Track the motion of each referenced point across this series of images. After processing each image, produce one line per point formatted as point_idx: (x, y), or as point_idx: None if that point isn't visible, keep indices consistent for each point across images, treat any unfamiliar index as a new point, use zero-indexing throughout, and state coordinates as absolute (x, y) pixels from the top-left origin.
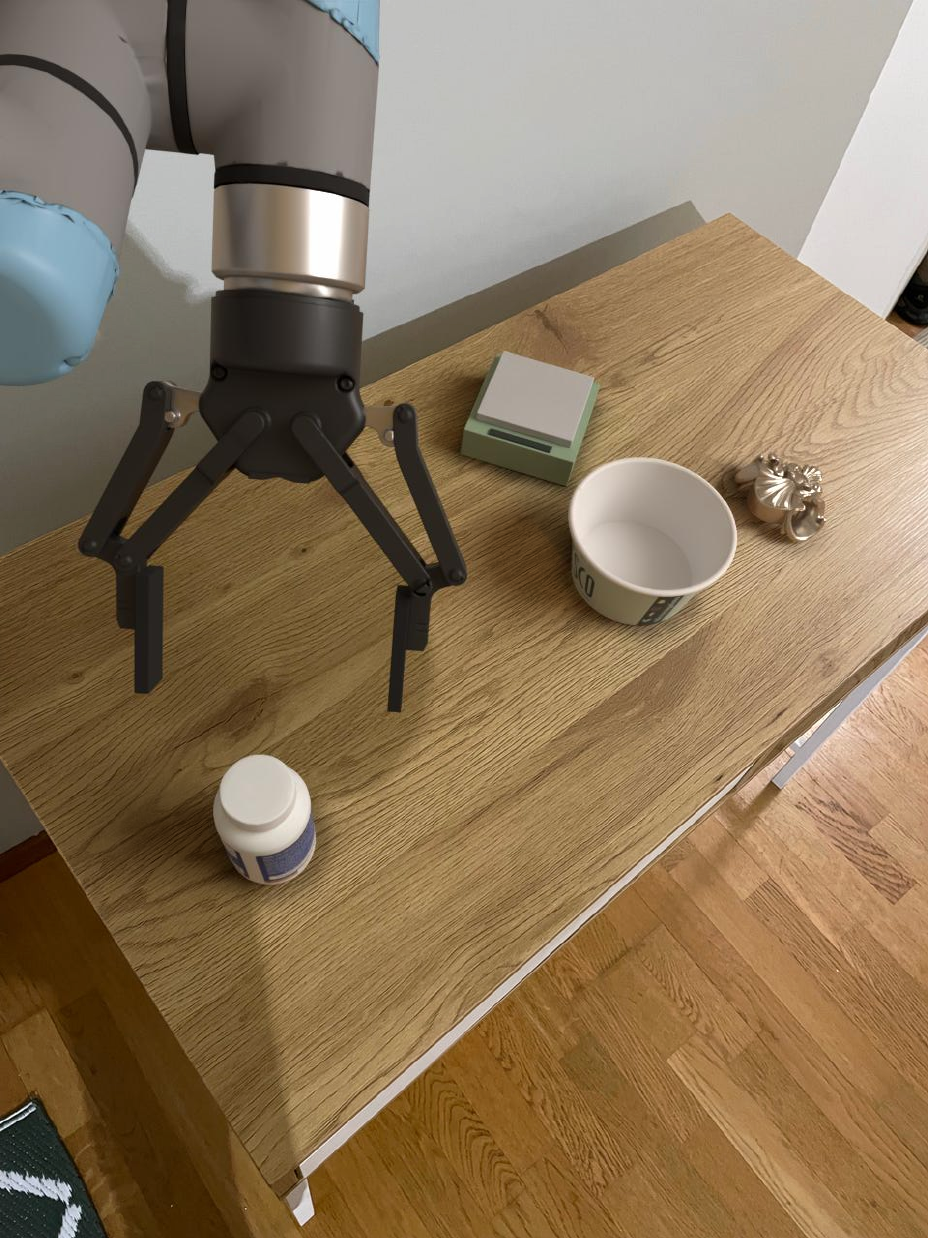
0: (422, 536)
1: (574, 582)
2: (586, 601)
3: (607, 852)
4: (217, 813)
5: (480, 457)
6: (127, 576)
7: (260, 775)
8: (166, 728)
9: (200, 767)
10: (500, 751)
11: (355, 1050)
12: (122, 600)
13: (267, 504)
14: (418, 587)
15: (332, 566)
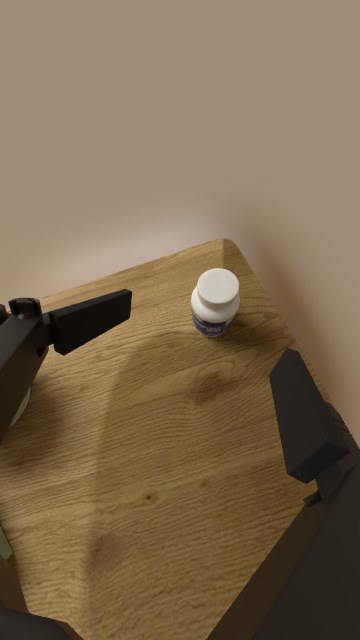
0: (77, 475)
1: (26, 403)
2: (29, 389)
3: (97, 284)
4: (238, 297)
5: (2, 540)
6: (352, 461)
7: (214, 290)
8: (250, 391)
9: (235, 364)
10: (109, 330)
11: (199, 254)
12: (342, 430)
13: (159, 564)
14: (30, 311)
15: (136, 473)
